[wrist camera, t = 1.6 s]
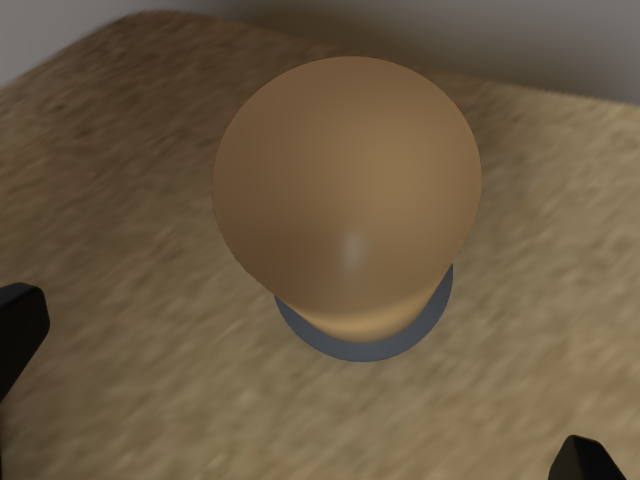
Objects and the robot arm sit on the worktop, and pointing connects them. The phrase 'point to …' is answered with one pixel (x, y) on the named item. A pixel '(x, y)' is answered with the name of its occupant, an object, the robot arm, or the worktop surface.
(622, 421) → the worktop surface
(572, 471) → the robot arm
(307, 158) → the tan rounded stopper
